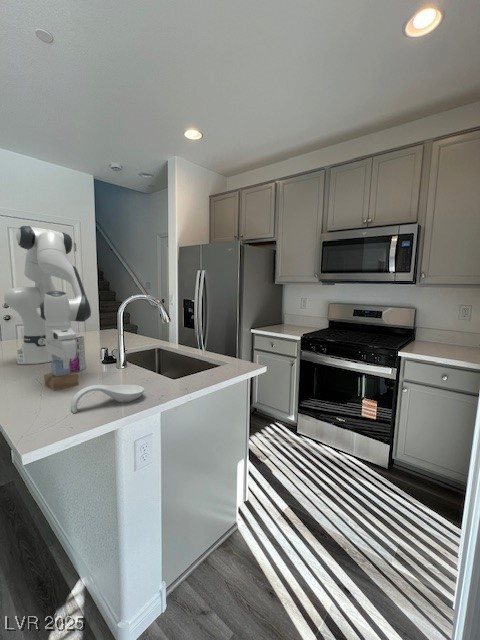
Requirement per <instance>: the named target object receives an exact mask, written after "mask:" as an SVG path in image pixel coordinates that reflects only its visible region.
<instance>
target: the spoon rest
mask: <svg viewBox="0 0 480 640" xmlns="http://www.w3.org/2000/svg"><path fill="white" fill-rule="evenodd" d="M145 390H146V389H145V388H144V387H143V386H140V385H137V384H119V385H118V384H117V385H109V384H107V385H106V384H93V385H90V386H89V385H88V386H86V387H84V388H82V389H80V390H79V391H78V392H77V393H76V394H75V395H73V398H72V400H71V403H70V410H71V411H72V414H76V413H77V412H78V405H79V401H80V400H81V398H82V397H83V396H85V395H87V394H88V393H90V392H93V391H98V392H102V393H104V394H105V395H107V396H109V397H110V398H112V399H113V400H115V401H117V402H118V403H129V402H133V401H135V400H137V399H138V398H140V397H141V396H142V395H143V394H144V393H145Z"/></svg>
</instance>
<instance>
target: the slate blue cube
mask: <svg viewBox="0 0 480 640" xmlns="http://www.w3.org/2000/svg"><path fill="white" fill-rule="evenodd" d="M62 364H63V360H60V361H54V362H53V361H50V367H51V368H50V371H51V373H52V375H54V376H56V377H57V376H62V375H67V374H70V362H69V368H68V369H63V368H62Z"/></svg>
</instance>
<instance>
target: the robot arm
mask: <svg viewBox="0 0 480 640" xmlns="http://www.w3.org/2000/svg"><path fill="white" fill-rule="evenodd" d="M15 235H16V236H15V238H16V242H17V244H18V246H19V247H20V248H22V249H24V250H26V254H25V263H24V272H23V273H24V275H25V277H26V278H27V279H28V280H30V281H33V282H34V283H35V285H34V286H18V287H13V288H8V289H7V290H6V292H5V294H4V302H5V304H6V305H7V306H8V307H9V308H10V309H12V310H14V311H15V312H16V313H17V314H18V315H19V317H20V318H21V321H22V323H23V331H24V335H23V340H22V341H23V344H22V346H21V347H20V348H19V349H17V350H16V351H17V352H16V353H17V355H19V356H16V357H15V360H16V363H17V365H36V364H44V363H49V362H50V363H51V362H54V361H59V360H58V357H60V358H63V364H62V368H63V369H68V368H69V362H70V359H72V358H74V357H75V355H76V343H75V339H74V338H76V336H77V332H75V330H73V328H72V323H71V322H77V323H78V322H79V323H80V322H81V323H82V322H85V321H87V320H88V319H89V318H91V315H92V307H91V305H90V301H89V300H88V297H87V295H86V292H85V289H84V285H83V283H82V280H81V276H80V274H79V272H78V270H77V267H76V266H75V265H73V264H72V263H70V262H69V260H68V258H67V257H68V256H67V255H68V254H69V253H71V251H72V248H73V239H72V237H71V236H70V235H69V234H67V233H65V232H61V231H57V230H53V229H50V228H42V227H35V226H33V227H32V226H30V225H21V226H20V227H18V229H17V231H16V233H15ZM52 277H55V278H58V279H62V280H65V281H66V282H67V283H69V284H70V286H71V288H72V291H73V294H74V298H69V295H68V293H67V292H65V291H60V289H58V288H57V287H56V286H55V285H54V283H53V280H52ZM38 309H40V313H39V312H38Z"/></svg>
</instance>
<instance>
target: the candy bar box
mask: <svg viewBox="0 0 480 640" xmlns="http://www.w3.org/2000/svg"><path fill="white" fill-rule="evenodd" d="M74 339H75V343H76V355H75V357H74V358H72V359H70V371H73V372H82V371H84V370H86V368H87V367H86V352H85V351H86V349H85V348H86V347H85V336H84V335H76V338H74ZM58 360H59V361H60V360H63V358H60V357H58Z"/></svg>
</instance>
